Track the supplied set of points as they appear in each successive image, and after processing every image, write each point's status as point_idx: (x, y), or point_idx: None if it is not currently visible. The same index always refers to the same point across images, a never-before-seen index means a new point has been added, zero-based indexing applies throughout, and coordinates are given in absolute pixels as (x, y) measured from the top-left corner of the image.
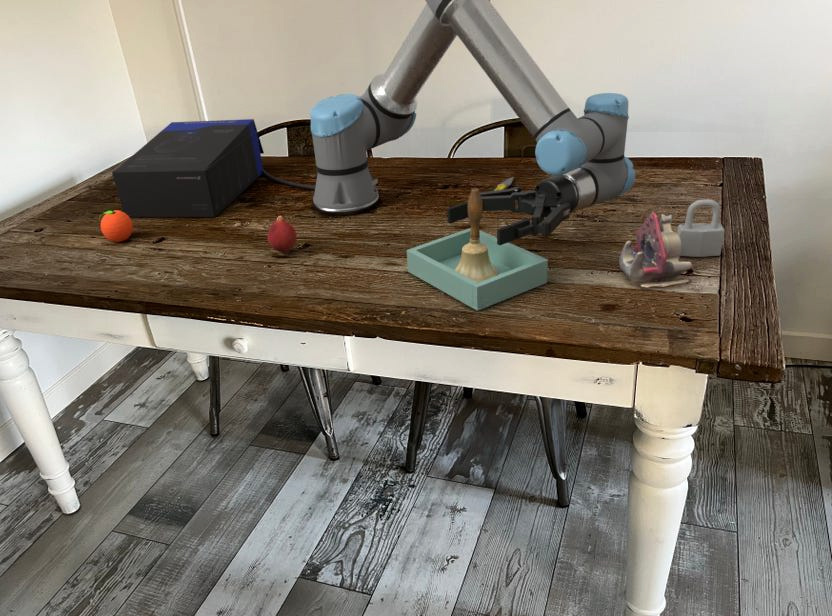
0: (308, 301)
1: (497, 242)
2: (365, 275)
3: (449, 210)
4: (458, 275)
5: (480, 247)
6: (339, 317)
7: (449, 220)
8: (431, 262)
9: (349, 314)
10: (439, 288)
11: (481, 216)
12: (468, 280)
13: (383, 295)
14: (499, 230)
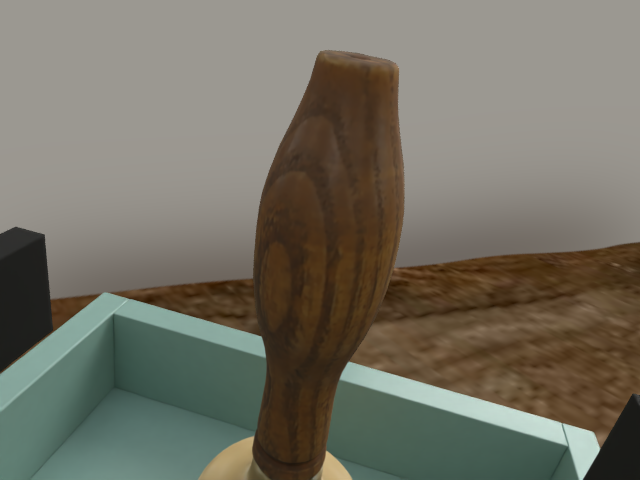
0: (530, 289)
1: (47, 316)
2: (609, 421)
3: (628, 401)
4: (218, 331)
5: (226, 478)
6: (415, 267)
7: (595, 470)
8: (396, 378)
9: (410, 278)
10: None
11: (259, 320)
12: (158, 314)
13: (435, 351)
14: (21, 232)
